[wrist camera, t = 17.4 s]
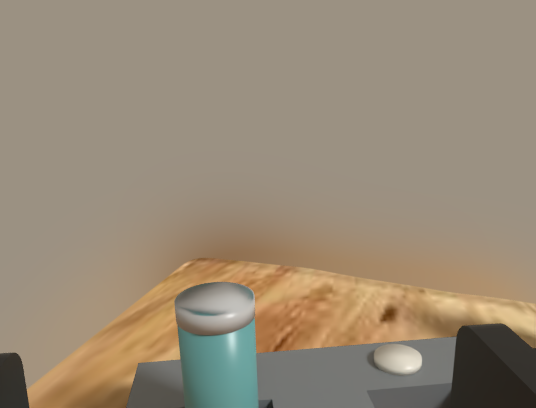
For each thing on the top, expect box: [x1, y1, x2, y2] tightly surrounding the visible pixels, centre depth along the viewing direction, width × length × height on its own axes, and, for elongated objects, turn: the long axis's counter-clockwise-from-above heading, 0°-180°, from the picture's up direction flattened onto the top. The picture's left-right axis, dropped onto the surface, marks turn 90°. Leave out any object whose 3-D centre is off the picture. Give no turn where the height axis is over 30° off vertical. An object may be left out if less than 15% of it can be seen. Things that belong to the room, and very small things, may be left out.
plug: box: [175, 282, 259, 408], centre depth 28 cm, size 4×4×12 cm
